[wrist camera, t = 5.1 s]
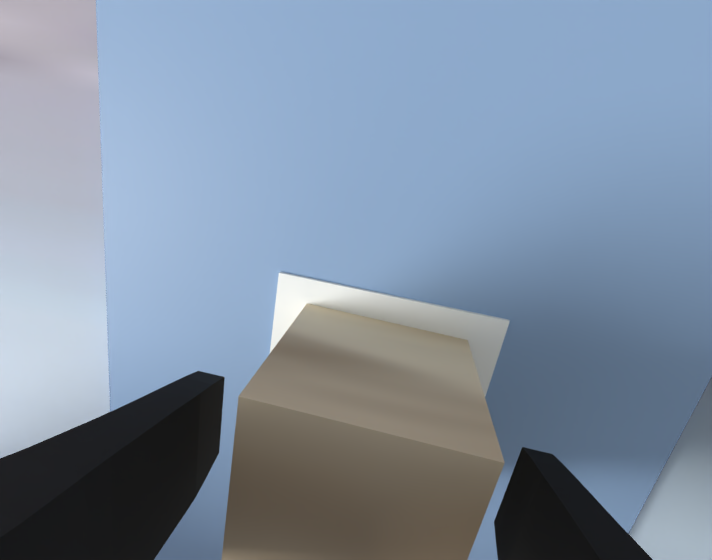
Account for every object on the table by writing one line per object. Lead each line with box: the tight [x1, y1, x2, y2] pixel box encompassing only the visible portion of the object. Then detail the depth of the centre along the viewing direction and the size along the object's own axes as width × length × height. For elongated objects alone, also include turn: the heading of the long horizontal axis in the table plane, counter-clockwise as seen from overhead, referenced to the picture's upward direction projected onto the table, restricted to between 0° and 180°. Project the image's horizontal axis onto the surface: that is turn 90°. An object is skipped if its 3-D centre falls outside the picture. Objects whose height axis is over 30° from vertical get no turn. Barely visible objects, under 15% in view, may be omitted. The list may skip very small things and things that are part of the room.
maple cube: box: [222, 303, 505, 560], centre depth 8 cm, size 4×4×4 cm
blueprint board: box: [96, 0, 712, 560], centre depth 11 cm, size 22×15×1 cm
